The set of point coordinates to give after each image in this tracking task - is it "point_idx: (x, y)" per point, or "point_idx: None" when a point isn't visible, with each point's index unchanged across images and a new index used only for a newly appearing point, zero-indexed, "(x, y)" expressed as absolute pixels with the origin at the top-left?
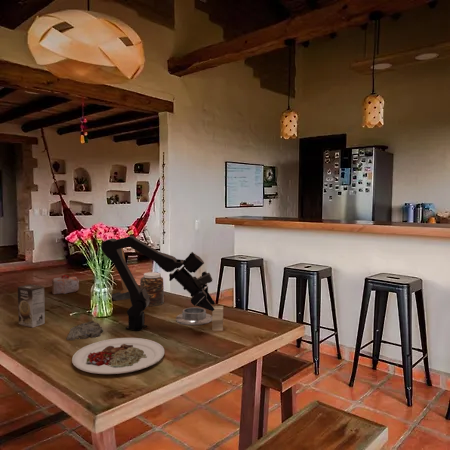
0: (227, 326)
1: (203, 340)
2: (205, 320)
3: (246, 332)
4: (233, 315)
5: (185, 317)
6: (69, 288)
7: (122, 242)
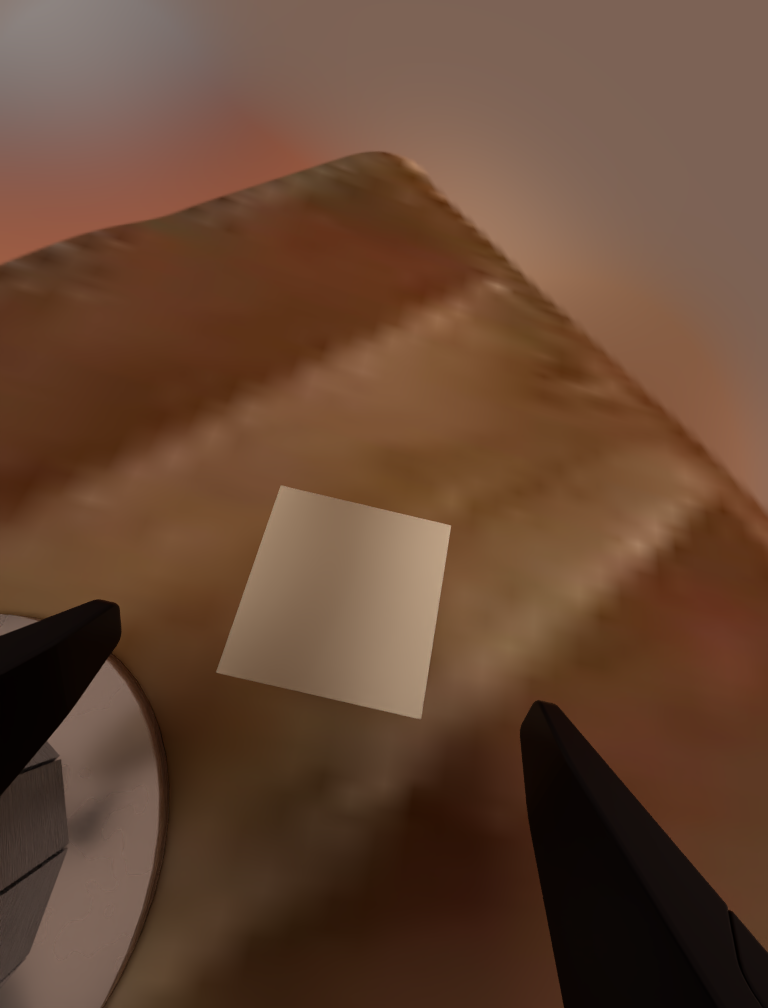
0: None
1: None
2: (104, 721)
3: (466, 426)
4: (18, 400)
5: None
6: None
7: None
